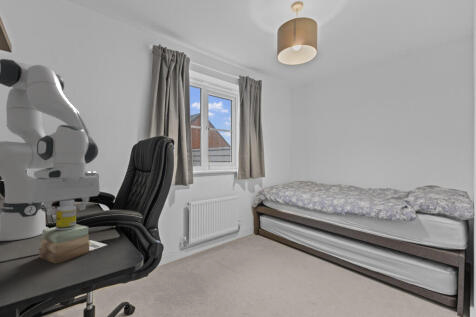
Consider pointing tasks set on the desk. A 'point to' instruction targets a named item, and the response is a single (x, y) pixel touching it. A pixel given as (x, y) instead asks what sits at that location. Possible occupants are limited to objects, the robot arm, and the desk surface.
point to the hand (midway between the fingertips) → (67, 212)
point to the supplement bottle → (66, 215)
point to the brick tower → (64, 243)
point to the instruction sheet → (95, 245)
